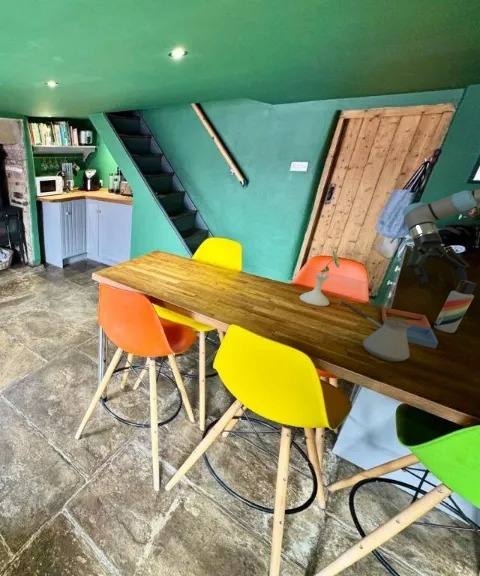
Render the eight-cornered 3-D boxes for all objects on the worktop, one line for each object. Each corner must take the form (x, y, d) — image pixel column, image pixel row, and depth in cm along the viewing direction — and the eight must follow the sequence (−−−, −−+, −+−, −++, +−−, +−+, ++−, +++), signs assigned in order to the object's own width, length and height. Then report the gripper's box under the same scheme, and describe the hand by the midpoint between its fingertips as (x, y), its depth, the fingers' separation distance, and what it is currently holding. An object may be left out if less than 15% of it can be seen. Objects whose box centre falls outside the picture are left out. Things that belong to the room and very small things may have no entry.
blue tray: (429, 334, 112) (432, 328, 111) (435, 348, 104) (438, 342, 103) (382, 324, 120) (385, 318, 119) (385, 336, 111) (387, 330, 110)
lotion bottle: (428, 325, 119) (452, 278, 111) (443, 325, 118) (468, 278, 111) (443, 332, 113) (469, 283, 106) (459, 333, 113) (486, 284, 106)
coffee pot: (406, 356, 100) (426, 316, 94) (405, 371, 93) (426, 328, 87) (329, 331, 114) (342, 295, 108) (322, 343, 107) (336, 305, 101)
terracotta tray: (423, 320, 122) (425, 315, 121) (428, 332, 114) (431, 326, 113) (380, 312, 130) (382, 307, 129) (382, 322, 121) (384, 317, 120)
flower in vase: (318, 310, 132) (336, 256, 122) (293, 300, 142) (308, 249, 132) (335, 305, 137) (354, 252, 128) (310, 296, 147) (326, 246, 137)
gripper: (450, 242, 126) (471, 288, 118) (385, 241, 129) (400, 286, 121) (469, 232, 119) (492, 280, 111) (399, 231, 122) (417, 278, 114)
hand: (444, 283), depth 116 cm, fingers open, 13 cm apart
